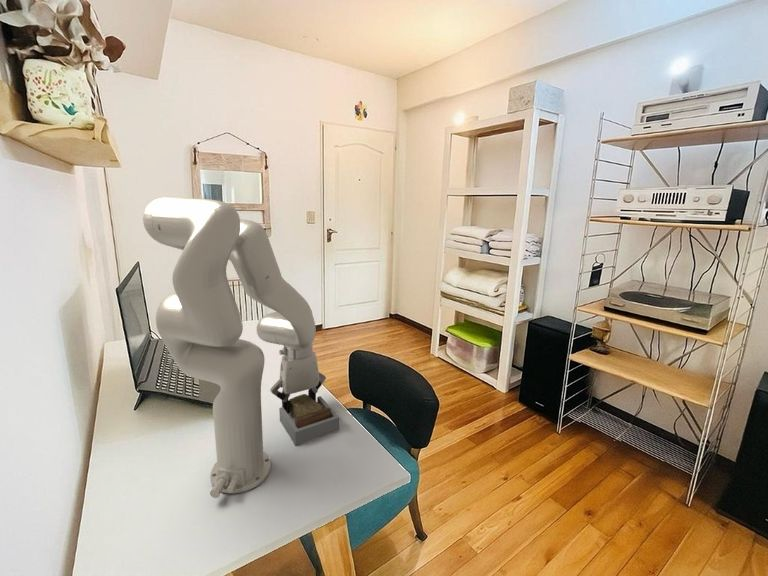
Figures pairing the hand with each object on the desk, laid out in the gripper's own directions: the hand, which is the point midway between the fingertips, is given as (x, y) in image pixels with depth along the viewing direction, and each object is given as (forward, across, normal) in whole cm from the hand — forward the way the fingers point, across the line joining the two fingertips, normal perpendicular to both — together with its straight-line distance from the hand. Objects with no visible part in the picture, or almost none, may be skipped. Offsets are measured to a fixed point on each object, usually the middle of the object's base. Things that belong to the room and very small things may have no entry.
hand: (299, 407), depth 103 cm
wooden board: (+2, 0, -9) cm, 10 cm away
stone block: (+2, +1, -3) cm, 4 cm away
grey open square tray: (+2, 0, -7) cm, 7 cm away
